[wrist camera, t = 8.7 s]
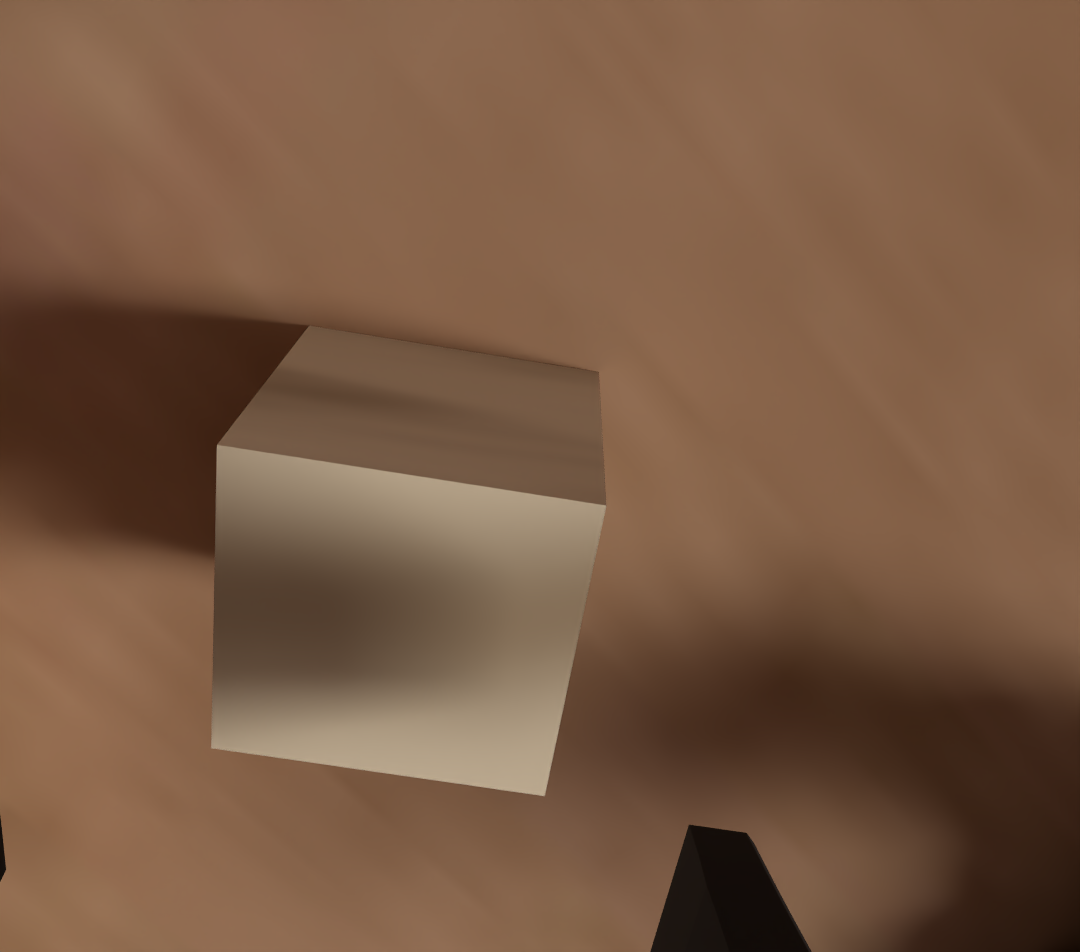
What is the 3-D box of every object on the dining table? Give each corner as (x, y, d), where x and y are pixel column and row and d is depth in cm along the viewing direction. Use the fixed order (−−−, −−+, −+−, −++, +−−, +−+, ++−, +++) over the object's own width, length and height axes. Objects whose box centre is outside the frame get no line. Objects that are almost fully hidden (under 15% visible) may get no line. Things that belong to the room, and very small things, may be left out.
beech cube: (551, 609, 20) (543, 795, 15) (295, 571, 20) (212, 747, 15) (598, 371, 18) (606, 505, 13) (310, 324, 17) (216, 444, 13)
